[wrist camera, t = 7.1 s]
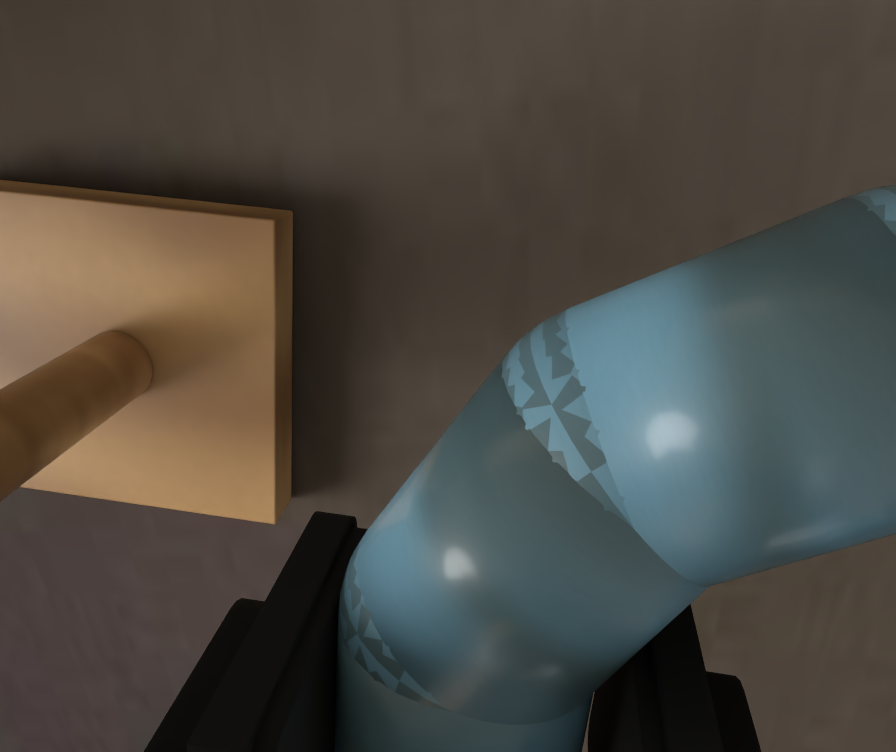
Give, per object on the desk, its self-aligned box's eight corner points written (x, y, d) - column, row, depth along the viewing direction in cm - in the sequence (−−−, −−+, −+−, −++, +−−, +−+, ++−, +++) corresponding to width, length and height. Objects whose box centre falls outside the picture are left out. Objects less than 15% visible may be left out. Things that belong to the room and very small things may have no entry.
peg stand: (-17, 177, 22) (-660, 293, 10) (293, 210, 21) (-31, 376, 10) (22, 460, 25) (-433, 787, 14) (291, 499, 24) (49, 882, 13)
